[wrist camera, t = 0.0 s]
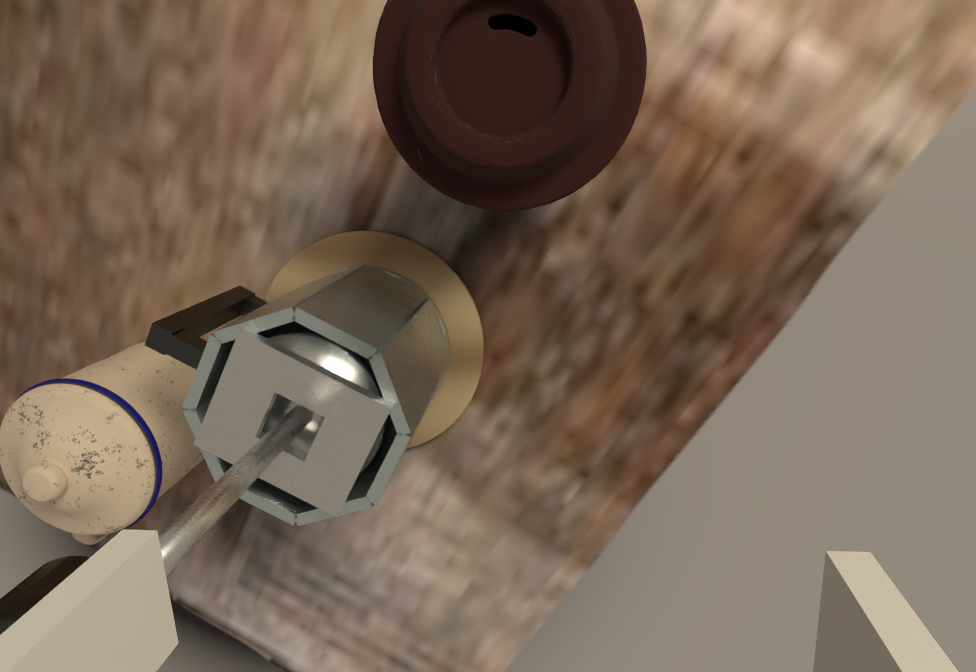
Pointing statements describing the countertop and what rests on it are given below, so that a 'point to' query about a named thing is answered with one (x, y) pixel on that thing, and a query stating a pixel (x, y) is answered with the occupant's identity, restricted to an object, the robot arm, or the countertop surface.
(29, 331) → the countertop surface
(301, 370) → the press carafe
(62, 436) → the teacup with lid
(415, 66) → the coffee cup
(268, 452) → the plunger
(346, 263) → the cork trivet
